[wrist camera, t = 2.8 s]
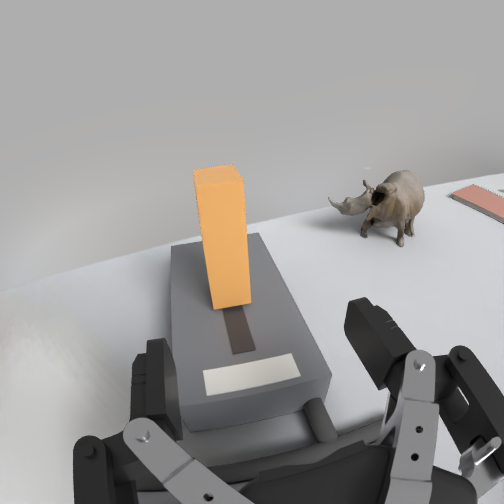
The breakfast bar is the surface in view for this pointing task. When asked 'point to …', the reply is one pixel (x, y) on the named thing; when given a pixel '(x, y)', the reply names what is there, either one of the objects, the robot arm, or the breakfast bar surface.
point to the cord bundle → (250, 470)
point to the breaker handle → (224, 234)
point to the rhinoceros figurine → (388, 204)
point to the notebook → (482, 201)
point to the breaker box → (240, 345)
